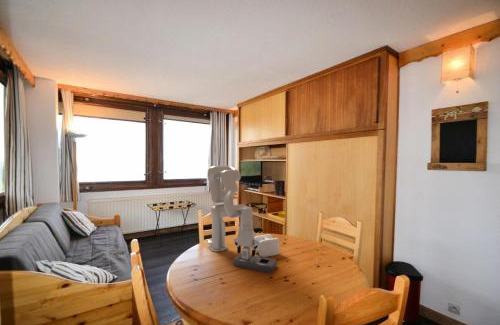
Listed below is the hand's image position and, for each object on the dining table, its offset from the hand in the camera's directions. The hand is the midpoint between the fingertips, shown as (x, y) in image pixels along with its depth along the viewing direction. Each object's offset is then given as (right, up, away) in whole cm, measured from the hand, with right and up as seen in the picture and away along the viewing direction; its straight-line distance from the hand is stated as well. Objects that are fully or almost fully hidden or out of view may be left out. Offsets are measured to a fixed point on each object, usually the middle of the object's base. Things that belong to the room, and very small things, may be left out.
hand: (246, 254), depth 143 cm
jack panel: (+5, -6, -2) cm, 8 cm away
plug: (0, -6, 0) cm, 6 cm away
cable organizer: (+14, -6, +16) cm, 22 cm away
